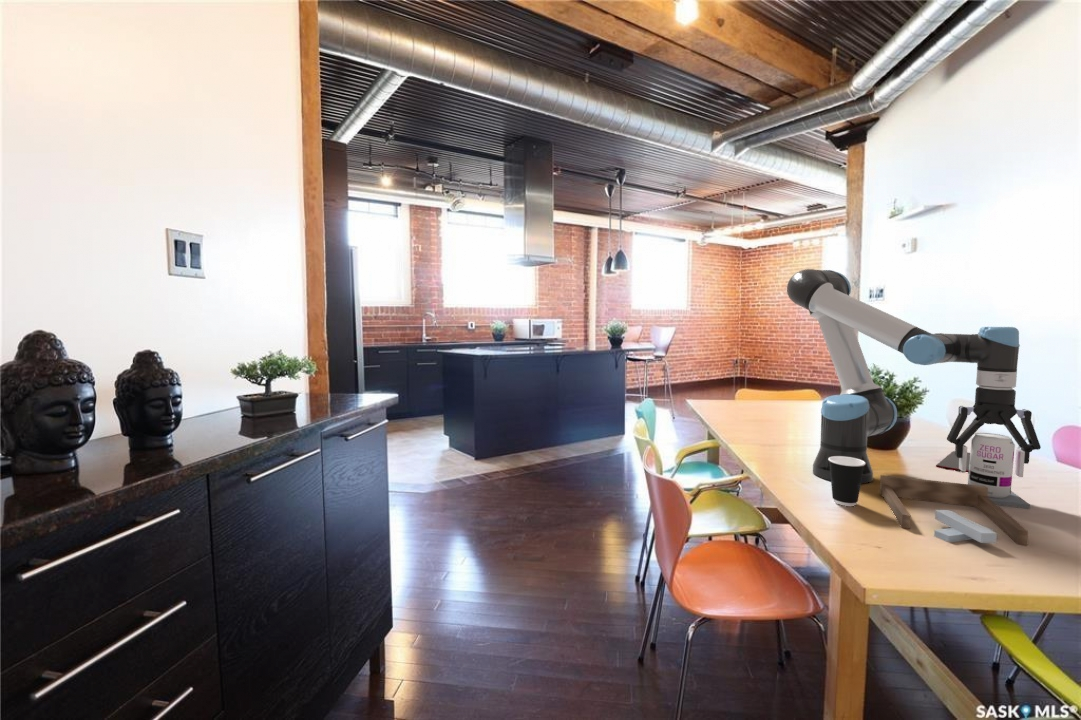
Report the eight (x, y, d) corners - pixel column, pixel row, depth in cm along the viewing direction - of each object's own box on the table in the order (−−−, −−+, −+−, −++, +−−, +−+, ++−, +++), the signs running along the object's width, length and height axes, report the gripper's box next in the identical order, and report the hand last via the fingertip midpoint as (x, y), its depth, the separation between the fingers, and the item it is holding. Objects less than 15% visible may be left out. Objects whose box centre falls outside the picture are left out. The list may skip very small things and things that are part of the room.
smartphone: (934, 464, 154) (952, 449, 170) (933, 469, 154) (952, 454, 170) (986, 474, 145) (1000, 457, 161) (986, 479, 145) (1000, 461, 161)
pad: (966, 501, 125) (967, 497, 125) (951, 486, 136) (951, 483, 136) (1029, 508, 120) (1030, 504, 120) (1008, 492, 131) (1009, 489, 131)
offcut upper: (996, 542, 99) (996, 533, 99) (980, 542, 99) (981, 533, 99) (948, 518, 111) (949, 510, 111) (935, 518, 111) (935, 510, 111)
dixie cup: (871, 508, 121) (873, 464, 120) (839, 509, 120) (841, 465, 120) (849, 497, 129) (851, 455, 128) (819, 498, 128) (821, 456, 127)
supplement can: (999, 489, 131) (1004, 433, 129) (1017, 500, 123) (1022, 441, 121) (961, 486, 133) (965, 431, 132) (976, 496, 125) (981, 438, 124)
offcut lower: (948, 545, 103) (948, 536, 102) (934, 539, 106) (934, 530, 105) (993, 539, 105) (994, 530, 105) (978, 533, 108) (978, 524, 108)
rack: (900, 527, 110) (901, 505, 109) (879, 493, 131) (880, 475, 131) (1028, 545, 101) (1030, 521, 100) (984, 505, 122) (985, 486, 122)
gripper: (943, 387, 127) (938, 471, 129) (1064, 392, 118) (1057, 483, 119) (934, 383, 134) (930, 463, 136) (1049, 388, 124) (1042, 474, 126)
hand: (989, 472), depth 128 cm, fingers open, 10 cm apart
